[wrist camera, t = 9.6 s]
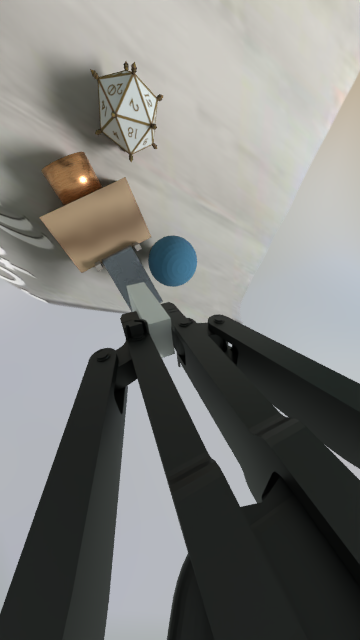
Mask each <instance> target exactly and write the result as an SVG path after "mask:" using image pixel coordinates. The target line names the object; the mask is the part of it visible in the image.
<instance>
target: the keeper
mask: <svg viewBox="0 0 360 640" xmlns="http://www.w3.org/2000/svg"><path fill="white" fill-rule="evenodd" d="M102 262H103V264H104V266H105V267H106V269H107V271H108V272H109V274H110V276H111V277H112V279H113V281H114V283H115V284H116V286H117V288H118V289H119V291H120V293H121V294H122V296H123V298H124V299H125V301H126V303H127V305H128V306H129V308H130V310H131V311H132V308H131V303H130V299H129V295H128V291H127V287H126V286H128V285H133V284H137V283H142V282H144V283H145V284H146V286H147V287H148V288H149V290H150V291H151V292H152V294H153V295H154V296H155V298H156V299H157V300H158V302H159V303H161V302H163V301H162V299H161V297H160V296H159V294H158V292H157V290H156V289H155V287H154V285H153V283H152V282H151V280H150V278H149V276H148V275H147V273H146V271H145V269H144V268H143V266H142V264H141V262H140V261H139V259H138V257H137V255H136V254H135V252H134V250H133V249H132V247H131V245H129V246H127V247H125V248H123V249H121V250H119V251H117V252H115V253H113V254H111V255H109V256H107V257H106V258H104V259H102Z"/></svg>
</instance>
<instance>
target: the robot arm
mask: <svg viewBox="0 0 360 640" xmlns="http://www.w3.org/2000/svg"><path fill="white" fill-rule="evenodd" d="M126 287H127V291H128V295H129V299H130V303H131V308H132V312H130V313H126V314H122V316H121V318H120V319H121V323H122V326H123V329H124V333H125V336H126V342H125V343H124V345H123V346H122V347H120V348H119V349H117V350H114V349H112V348H104V349H100V350H98V351H97V352H95V353H94V354H93V355H92V356H91V357H90V359H89V362H88V365H87V368H86V371H85V373H84V376H83V379H82V382H81V385H80V388H79V390H78V393H77V396H76V399H75V402H74V405H73V408H72V410H71V414H70V417H69V419H68V422H67V425H66V428H65V430H64V433H63V436H62V439H61V442H60V445H59V448H58V450H57V454H56V456H55V459H54V462H53V465H52V468H51V470H50V473H49V476H48V479H47V482H46V485H45V488H44V491H43V493H42V496H41V499H40V502H39V505H38V508H37V510H36V513H35V516H34V519H33V522H32V525H31V528H30V531H29V533H28V536H27V539H26V542H25V545H24V548H23V550H22V553H21V556H20V559H19V562H18V565H17V568H16V570H15V573H14V576H13V579H12V582H11V585H10V587H9V590H8V593H7V596H6V599H5V602H4V605H3V608H2V610H1V613H0V640H104V635H105V627H106V619H107V610H108V603H109V592H110V581H111V570H112V558H113V548H114V535H115V525H116V514H117V503H118V491H119V481H120V469H121V458H122V447H123V436H124V425H125V414H126V403H127V391H128V386H127V385H129V384H130V383H132V382H133V381H135V380H136V379H138V382H139V385H140V389H141V392H142V395H143V399H144V402H145V406H146V409H147V413H148V416H149V420H150V423H151V426H152V430H153V433H154V437H155V440H156V444H157V447H158V451H159V454H160V457H161V461H162V464H163V468H164V471H165V474H166V478H167V481H168V485H169V488H170V492H171V495H172V499H173V502H174V505H175V509H176V512H177V516H178V519H179V523H180V526H181V530H182V533H183V536H184V540H185V543H186V547H187V550H188V555H187V557H186V559H185V561H184V563H183V566H182V568H181V571H180V574H179V577H178V580H177V585H176V588H175V593H174V597H173V603H172V609H171V616H170V622H169V629H168V636H167V640H360V480H359V479H358V478H357V477H356V476H355V475H354V474H353V473H352V472H351V471H350V470H349V469H348V468H347V467H346V466H345V465H344V464H343V463H342V462H341V461H340V460H339V459H338V458H337V457H336V456H335V455H334V454H333V453H332V452H331V451H330V450H329V449H328V448H327V447H329V448H330V449H331V450H332V451H334V452H336V453H337V454H338V455H340V456H341V457H342V458H344V459H345V460H347V461H348V462H350V463H351V464H353V465H354V466H356V467H358V468H359V469H360V384H359V383H357V382H355V381H353V380H351V379H349V378H347V377H345V376H343V375H341V374H339V373H337V372H335V371H333V370H331V369H329V368H327V367H325V366H323V365H321V364H319V363H317V362H316V361H313V360H311V359H310V358H307V357H305V356H304V355H302V354H300V353H297V352H296V351H294V350H292V349H290V348H288V347H286V346H284V345H282V344H280V343H278V342H276V341H274V340H272V339H270V338H268V337H266V336H264V335H262V334H260V333H258V332H256V331H254V330H252V329H250V328H248V327H246V326H244V325H242V324H240V323H238V322H236V321H234V320H233V319H231V318H229V317H227V316H224V315H213V316H211V317H209V319H208V323H196V322H195V321H194V320H193V319H190V318H186V317H185V316H184V315H183V314H182V313H181V312H180V311H179V309H178V308H177V307H176V306H175V305H174V304H172V303H170V302H168V303H164V304H160V303H159V302H158V300H157V299H156V298H155V296H154V295H153V294H152V292H151V291H150V290H149V288H148V287H147V286H146V284H145V283H144V282H142V283H137V284H133V285H128V286H126ZM228 342H229V343H231V344H232V347H230V346H228ZM174 348H175V349H176V351H177V359H178V366H179V367H180V363H181V365H182V366H183V368H184V370H185V372H186V373H187V375H188V377H189V378H190V380H191V382H192V383H193V385H194V387H195V388H196V390H197V392H198V394H199V396H200V397H201V399H202V400H203V402H204V404H205V406H206V407H207V409H208V410H209V412H210V414H211V416H212V418H213V419H214V421H215V423H216V424H217V426H218V428H219V429H220V431H221V433H222V435H223V436H224V438H225V440H226V442H227V443H228V445H229V447H230V448H231V450H232V452H233V453H234V455H235V457H236V459H237V460H238V462H239V464H240V466H241V468H242V470H243V472H244V476H245V479H246V482H247V484H248V487H249V489H250V491H251V493H252V495H253V496H254V498H255V500H256V502H257V504H252V505H248V506H243V507H240V506H239V504H238V502H237V500H236V498H235V496H234V494H233V492H232V490H231V489H230V486H229V484H228V482H227V480H226V478H225V476H224V474H223V473H222V471H221V469H220V467H219V466H218V464H217V463H216V461H215V460H213V459H212V458H211V457H210V456H209V454H208V452H207V450H206V448H205V446H204V444H203V442H202V440H201V438H200V436H199V434H198V432H197V430H196V428H195V426H194V424H193V422H192V419H191V417H190V415H189V413H188V411H187V409H186V407H185V405H184V403H183V401H182V399H181V397H180V395H179V393H178V391H177V389H176V387H175V385H174V383H173V381H172V379H171V376H170V375H169V373H168V370H167V368H166V366H165V364H164V362H163V360H162V358H163V357H166V356H169V355H172V354H175V351H174ZM273 405H274V406H275V407H276V408H278V409H279V410H280V411H281V412H283V413H284V414H285V415H287V416H288V417H285V416H283V415H282V414H280V413H279V412H278V411H277V409H276V408H275V407H274V406H273ZM324 444H325V445H326V446H327V447H326V446H325V445H324Z"/></svg>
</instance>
